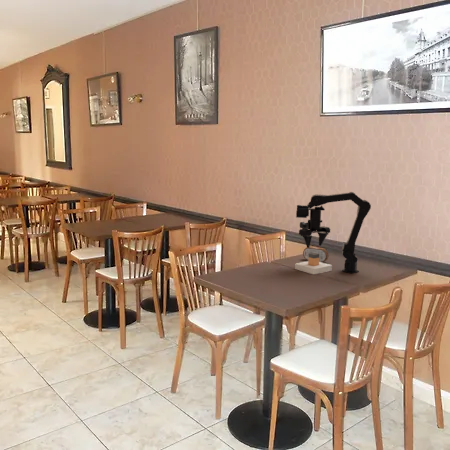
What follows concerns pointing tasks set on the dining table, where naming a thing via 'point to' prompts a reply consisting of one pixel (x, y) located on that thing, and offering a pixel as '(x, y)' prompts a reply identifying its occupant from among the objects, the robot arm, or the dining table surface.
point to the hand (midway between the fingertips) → (314, 246)
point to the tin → (321, 251)
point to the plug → (313, 259)
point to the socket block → (313, 267)
